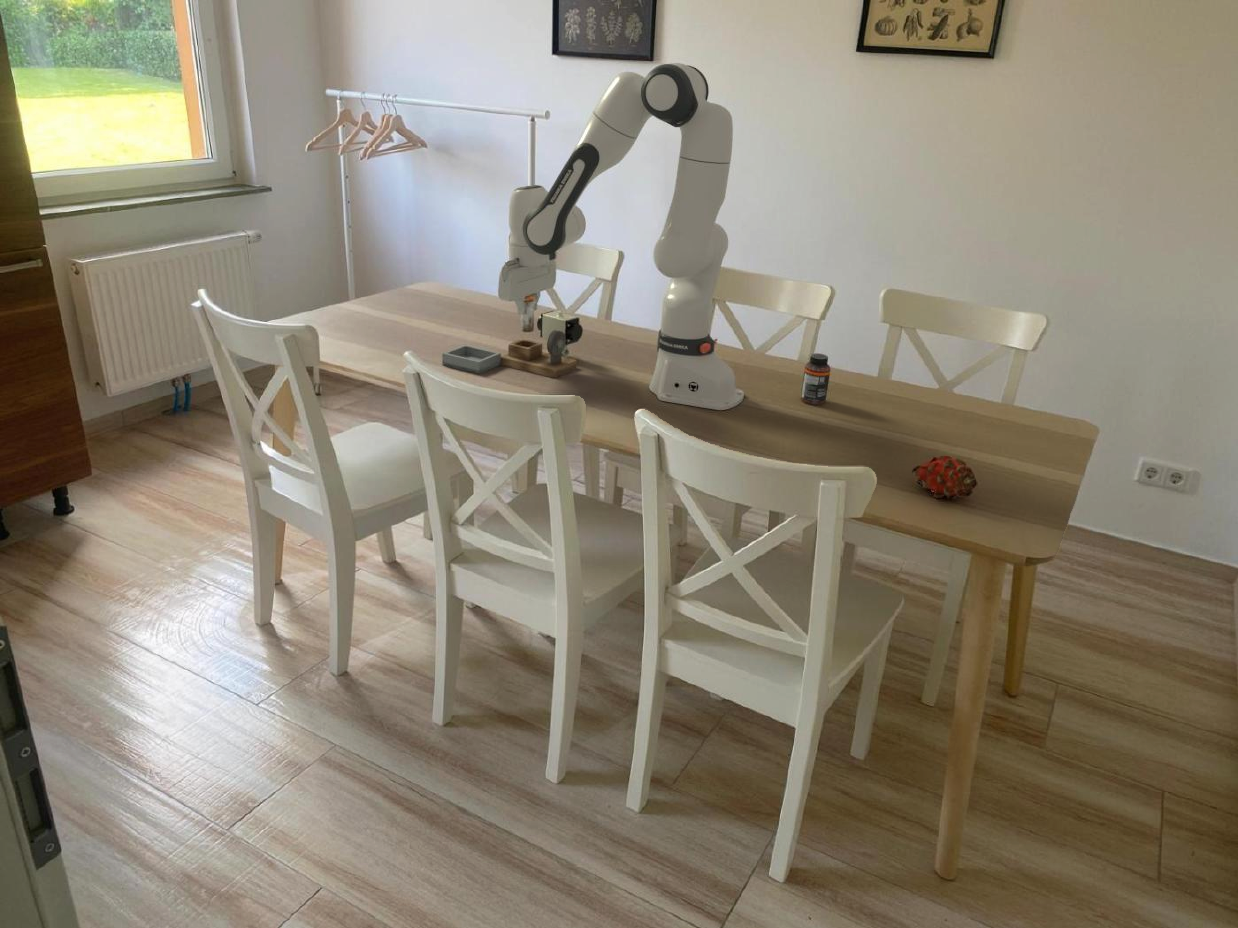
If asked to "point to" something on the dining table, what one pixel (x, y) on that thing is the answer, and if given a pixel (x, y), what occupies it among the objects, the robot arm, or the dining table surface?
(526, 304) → the lock pin
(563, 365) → the wooden desk organizer
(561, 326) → the pneumatic valve
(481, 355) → the parts tray
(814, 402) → the supplement bottle
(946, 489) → the dragon fruit
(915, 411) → the dining table surface
